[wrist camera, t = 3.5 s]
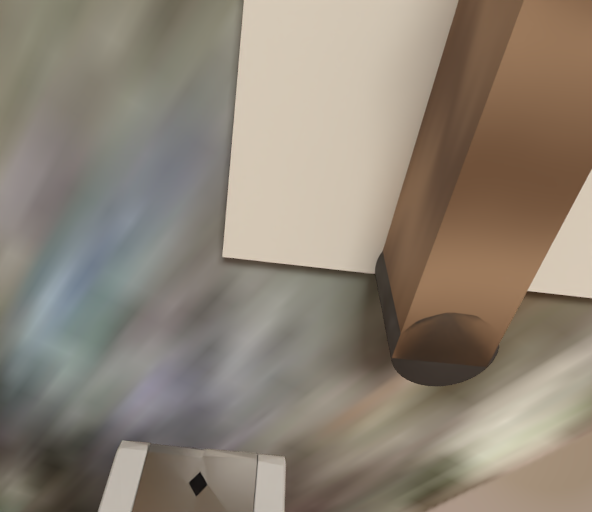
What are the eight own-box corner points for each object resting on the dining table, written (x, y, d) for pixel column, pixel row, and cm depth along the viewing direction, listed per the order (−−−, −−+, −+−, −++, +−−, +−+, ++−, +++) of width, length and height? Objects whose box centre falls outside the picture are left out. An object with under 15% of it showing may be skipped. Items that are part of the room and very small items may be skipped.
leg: (509, -184, 12) (587, -189, 9) (645, -157, 12) (767, -153, 9) (366, 296, 21) (379, 381, 17) (449, 305, 21) (477, 390, 18)
